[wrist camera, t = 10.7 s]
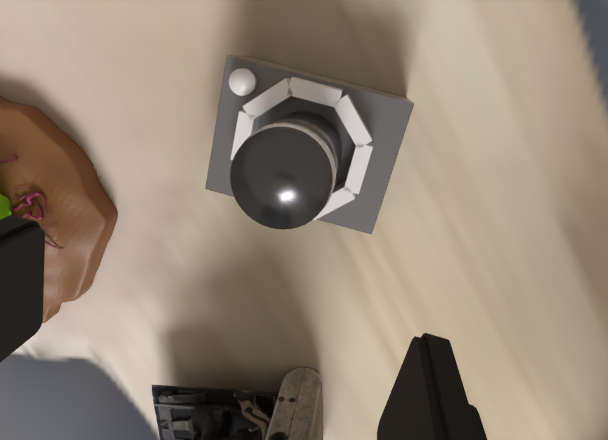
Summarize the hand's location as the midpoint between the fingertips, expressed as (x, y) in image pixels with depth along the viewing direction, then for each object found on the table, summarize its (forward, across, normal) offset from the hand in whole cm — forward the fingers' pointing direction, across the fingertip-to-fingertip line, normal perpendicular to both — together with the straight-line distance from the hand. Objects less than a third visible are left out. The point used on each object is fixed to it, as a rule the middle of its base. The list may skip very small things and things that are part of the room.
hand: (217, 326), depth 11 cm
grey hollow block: (+24, +1, -1) cm, 24 cm away
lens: (+19, +1, -1) cm, 19 cm away
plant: (+25, +26, +12) cm, 38 cm away
